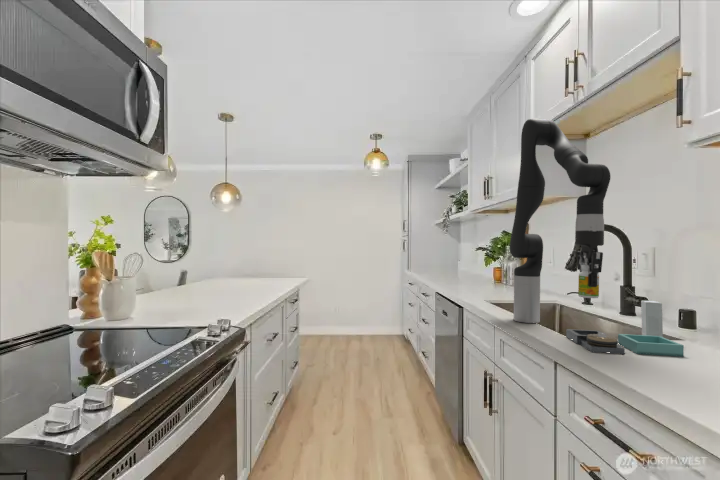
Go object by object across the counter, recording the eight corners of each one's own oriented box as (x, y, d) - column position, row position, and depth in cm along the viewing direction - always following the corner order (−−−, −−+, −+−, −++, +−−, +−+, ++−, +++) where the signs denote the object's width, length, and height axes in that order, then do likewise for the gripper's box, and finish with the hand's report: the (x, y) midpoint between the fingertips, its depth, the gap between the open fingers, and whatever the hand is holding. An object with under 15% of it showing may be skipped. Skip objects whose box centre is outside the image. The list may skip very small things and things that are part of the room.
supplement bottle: (575, 296, 120) (575, 264, 120) (582, 295, 124) (583, 264, 124) (594, 298, 116) (594, 265, 116) (601, 297, 120) (602, 265, 120)
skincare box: (663, 343, 118) (664, 303, 118) (645, 342, 120) (645, 302, 120) (657, 339, 124) (657, 300, 124) (640, 338, 126) (640, 299, 126)
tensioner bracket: (566, 336, 125) (566, 322, 125) (598, 338, 123) (599, 324, 123) (589, 352, 107) (589, 335, 107) (627, 354, 105) (627, 337, 105)
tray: (618, 344, 117) (618, 333, 117) (659, 346, 115) (659, 336, 115) (636, 353, 106) (637, 342, 106) (683, 356, 104) (683, 345, 104)
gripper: (568, 230, 128) (567, 283, 128) (585, 228, 114) (584, 287, 114) (593, 230, 126) (592, 283, 126) (613, 229, 112) (612, 288, 112)
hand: (588, 285), depth 120 cm, fingers closed on supplement bottle, 5 cm apart
